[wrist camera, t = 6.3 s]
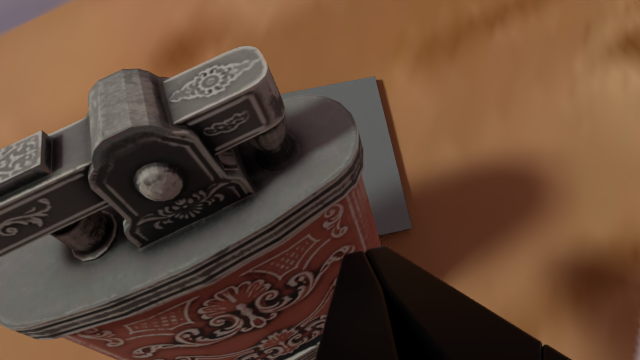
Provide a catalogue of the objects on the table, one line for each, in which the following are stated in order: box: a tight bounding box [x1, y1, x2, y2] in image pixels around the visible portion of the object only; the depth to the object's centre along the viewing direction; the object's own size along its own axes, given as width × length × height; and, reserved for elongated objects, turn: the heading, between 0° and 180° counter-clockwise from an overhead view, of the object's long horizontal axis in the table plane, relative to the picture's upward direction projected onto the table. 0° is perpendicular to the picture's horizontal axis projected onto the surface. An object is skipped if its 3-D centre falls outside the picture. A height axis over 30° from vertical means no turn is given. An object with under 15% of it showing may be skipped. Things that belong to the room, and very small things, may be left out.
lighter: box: [0, 46, 381, 360], centre depth 11 cm, size 8×3×10 cm, turn 116°
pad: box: [280, 76, 412, 236], centre depth 16 cm, size 6×10×1 cm, turn 102°
